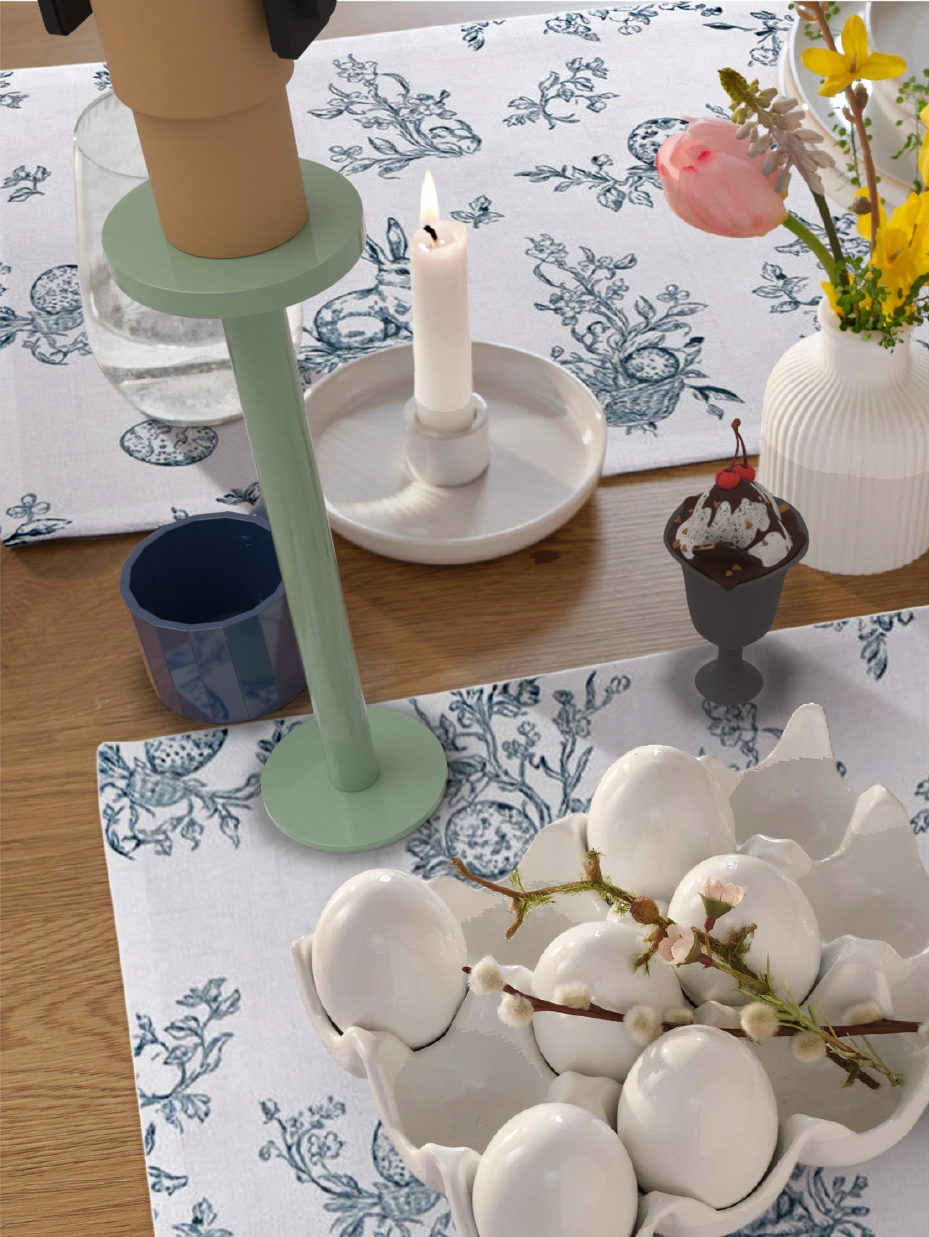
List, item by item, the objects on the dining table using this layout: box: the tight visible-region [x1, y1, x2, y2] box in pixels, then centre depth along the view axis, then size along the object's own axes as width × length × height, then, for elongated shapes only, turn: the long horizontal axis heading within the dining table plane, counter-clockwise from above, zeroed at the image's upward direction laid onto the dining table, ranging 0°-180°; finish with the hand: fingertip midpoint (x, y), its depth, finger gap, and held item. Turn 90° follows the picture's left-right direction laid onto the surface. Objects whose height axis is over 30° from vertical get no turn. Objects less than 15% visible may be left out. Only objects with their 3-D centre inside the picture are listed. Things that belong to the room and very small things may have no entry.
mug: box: [118, 493, 308, 725], centre depth 83 cm, size 12×9×7 cm
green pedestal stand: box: [100, 157, 449, 854], centre depth 67 cm, size 9×9×30 cm
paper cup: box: [90, 0, 308, 259], centre depth 52 cm, size 6×6×11 cm
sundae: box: [662, 417, 810, 707], centre depth 77 cm, size 7×7×15 cm
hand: (189, 23), depth 51 cm, fingers open, 7 cm apart
